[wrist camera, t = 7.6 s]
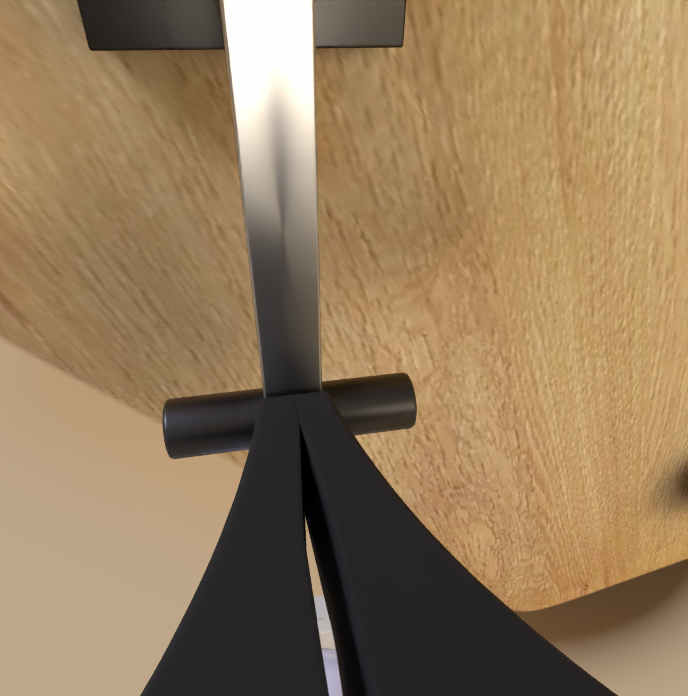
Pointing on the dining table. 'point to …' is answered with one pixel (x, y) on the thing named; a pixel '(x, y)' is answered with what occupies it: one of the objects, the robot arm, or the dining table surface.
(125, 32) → the black lever base
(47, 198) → the dining table surface
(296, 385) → the lever
